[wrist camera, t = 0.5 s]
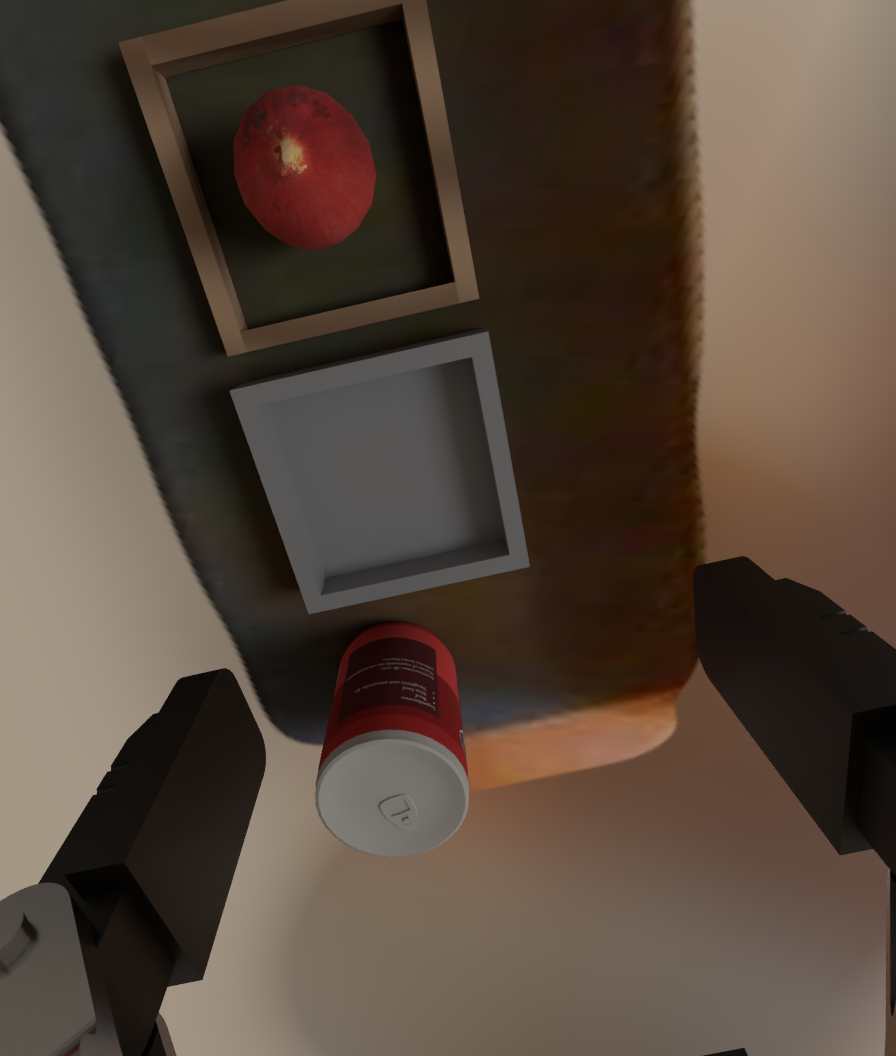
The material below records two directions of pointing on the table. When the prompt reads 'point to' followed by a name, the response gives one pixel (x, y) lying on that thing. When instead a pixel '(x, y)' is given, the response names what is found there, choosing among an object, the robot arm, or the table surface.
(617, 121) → the table surface
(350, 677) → the canned food
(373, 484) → the bin
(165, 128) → the square frame
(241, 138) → the onion
